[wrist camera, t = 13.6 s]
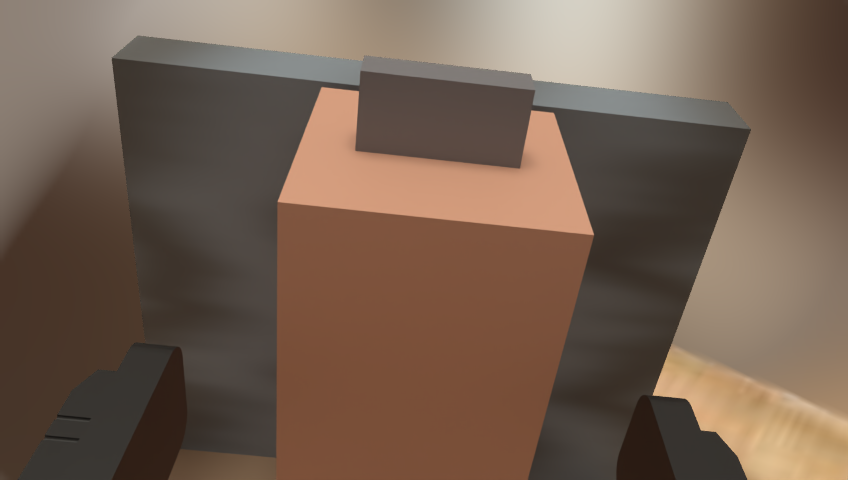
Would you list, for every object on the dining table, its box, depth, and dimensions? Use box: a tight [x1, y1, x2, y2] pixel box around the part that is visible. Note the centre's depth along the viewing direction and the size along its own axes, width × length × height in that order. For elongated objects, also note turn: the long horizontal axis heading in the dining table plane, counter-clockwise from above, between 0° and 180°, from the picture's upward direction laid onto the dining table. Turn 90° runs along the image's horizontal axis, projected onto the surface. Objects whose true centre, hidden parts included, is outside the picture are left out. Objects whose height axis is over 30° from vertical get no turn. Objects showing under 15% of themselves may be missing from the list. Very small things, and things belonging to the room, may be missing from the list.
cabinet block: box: [276, 56, 594, 480], centre depth 17 cm, size 5×5×14 cm
